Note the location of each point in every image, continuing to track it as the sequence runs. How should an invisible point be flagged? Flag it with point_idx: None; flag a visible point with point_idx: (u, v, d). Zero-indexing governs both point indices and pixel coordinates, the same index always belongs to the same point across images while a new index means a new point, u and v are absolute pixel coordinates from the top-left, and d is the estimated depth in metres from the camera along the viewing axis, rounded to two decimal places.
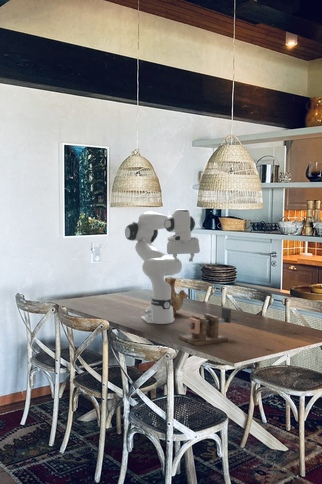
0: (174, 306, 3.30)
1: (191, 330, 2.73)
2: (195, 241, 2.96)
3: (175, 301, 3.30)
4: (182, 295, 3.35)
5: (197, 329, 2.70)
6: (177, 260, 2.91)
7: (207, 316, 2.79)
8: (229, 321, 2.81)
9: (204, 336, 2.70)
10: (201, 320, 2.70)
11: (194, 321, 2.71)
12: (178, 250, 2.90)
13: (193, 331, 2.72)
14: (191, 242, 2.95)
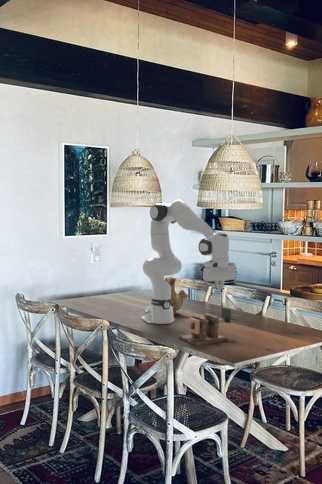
0: (174, 306, 3.30)
1: (191, 330, 2.73)
2: (232, 267, 2.81)
3: (175, 301, 3.30)
4: (182, 295, 3.35)
5: (197, 329, 2.70)
6: (219, 287, 2.78)
7: (207, 316, 2.79)
8: (229, 321, 2.81)
9: (204, 336, 2.70)
10: (201, 320, 2.70)
11: (194, 321, 2.71)
12: (214, 277, 2.75)
13: (193, 331, 2.72)
14: (228, 268, 2.79)
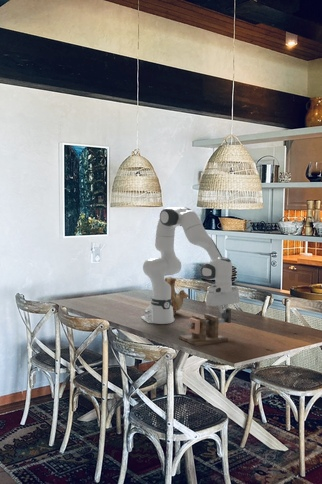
0: (174, 306, 3.30)
1: (191, 330, 2.73)
2: (235, 291, 2.83)
3: (175, 301, 3.30)
4: (182, 295, 3.35)
5: (197, 329, 2.70)
6: (222, 311, 2.81)
7: (207, 316, 2.79)
8: (229, 321, 2.81)
9: (204, 336, 2.70)
10: (201, 320, 2.70)
11: (194, 321, 2.71)
12: (218, 301, 2.77)
13: (193, 331, 2.72)
14: (231, 292, 2.82)
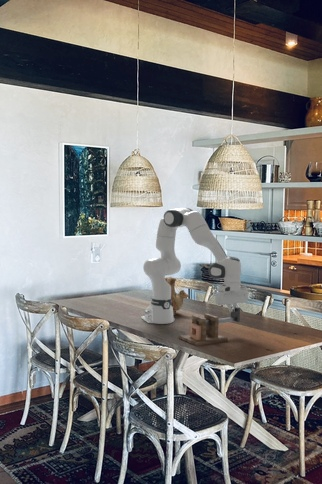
0: (174, 306, 3.30)
1: (192, 336, 2.74)
2: (244, 290, 2.86)
3: (175, 301, 3.30)
4: (182, 295, 3.35)
5: (198, 335, 2.70)
6: (231, 310, 2.84)
7: (207, 316, 2.79)
8: (238, 320, 2.84)
9: (204, 336, 2.70)
10: (201, 320, 2.70)
11: (195, 327, 2.71)
12: (227, 300, 2.81)
13: (194, 337, 2.72)
14: (240, 291, 2.85)
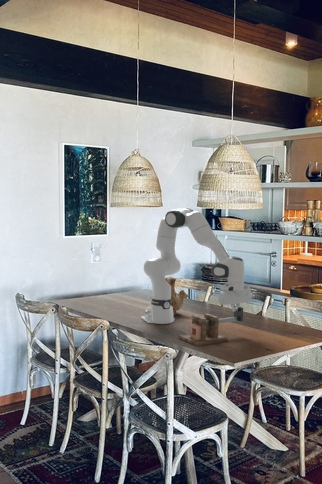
0: (174, 306, 3.30)
1: (192, 336, 2.74)
2: (247, 290, 2.87)
3: (175, 301, 3.30)
4: (182, 295, 3.35)
5: (198, 335, 2.70)
6: (234, 309, 2.85)
7: (207, 316, 2.79)
8: (241, 319, 2.85)
9: (204, 336, 2.70)
10: (201, 320, 2.70)
11: (195, 327, 2.71)
12: (230, 300, 2.82)
13: (194, 337, 2.72)
14: (243, 291, 2.86)
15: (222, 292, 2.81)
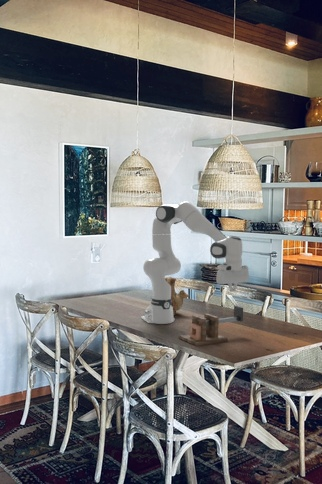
0: (174, 306, 3.30)
1: (192, 336, 2.74)
2: (245, 270, 2.86)
3: (175, 301, 3.30)
4: (182, 295, 3.35)
5: (198, 335, 2.70)
6: (232, 289, 2.83)
7: (207, 316, 2.79)
8: (241, 319, 2.85)
9: (204, 336, 2.70)
10: (201, 320, 2.70)
11: (195, 327, 2.71)
12: (228, 279, 2.80)
13: (194, 337, 2.72)
14: (241, 271, 2.84)
15: (220, 271, 2.79)
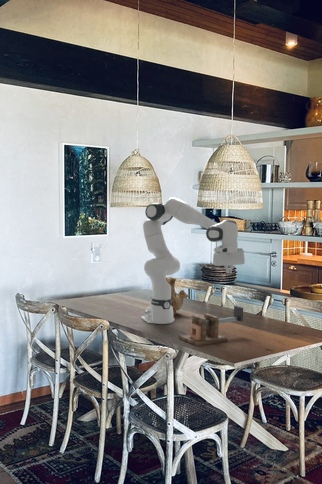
0: (174, 306, 3.30)
1: (192, 336, 2.74)
2: (241, 252, 2.96)
3: (175, 301, 3.30)
4: (182, 295, 3.35)
5: (198, 335, 2.70)
6: (228, 271, 2.93)
7: (207, 316, 2.79)
8: (241, 319, 2.85)
9: (204, 336, 2.70)
10: (201, 320, 2.70)
11: (195, 327, 2.71)
12: (224, 261, 2.90)
13: (194, 337, 2.72)
14: (237, 253, 2.94)
15: (216, 253, 2.89)
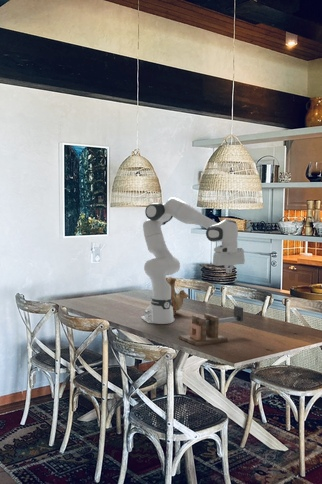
0: (174, 306, 3.30)
1: (192, 336, 2.74)
2: (241, 252, 2.96)
3: (175, 301, 3.30)
4: (182, 295, 3.35)
5: (198, 335, 2.70)
6: (228, 271, 2.94)
7: (207, 316, 2.79)
8: (241, 319, 2.85)
9: (204, 336, 2.70)
10: (201, 320, 2.70)
11: (195, 327, 2.71)
12: (224, 261, 2.90)
13: (194, 337, 2.72)
14: (237, 253, 2.95)
15: (216, 253, 2.89)
